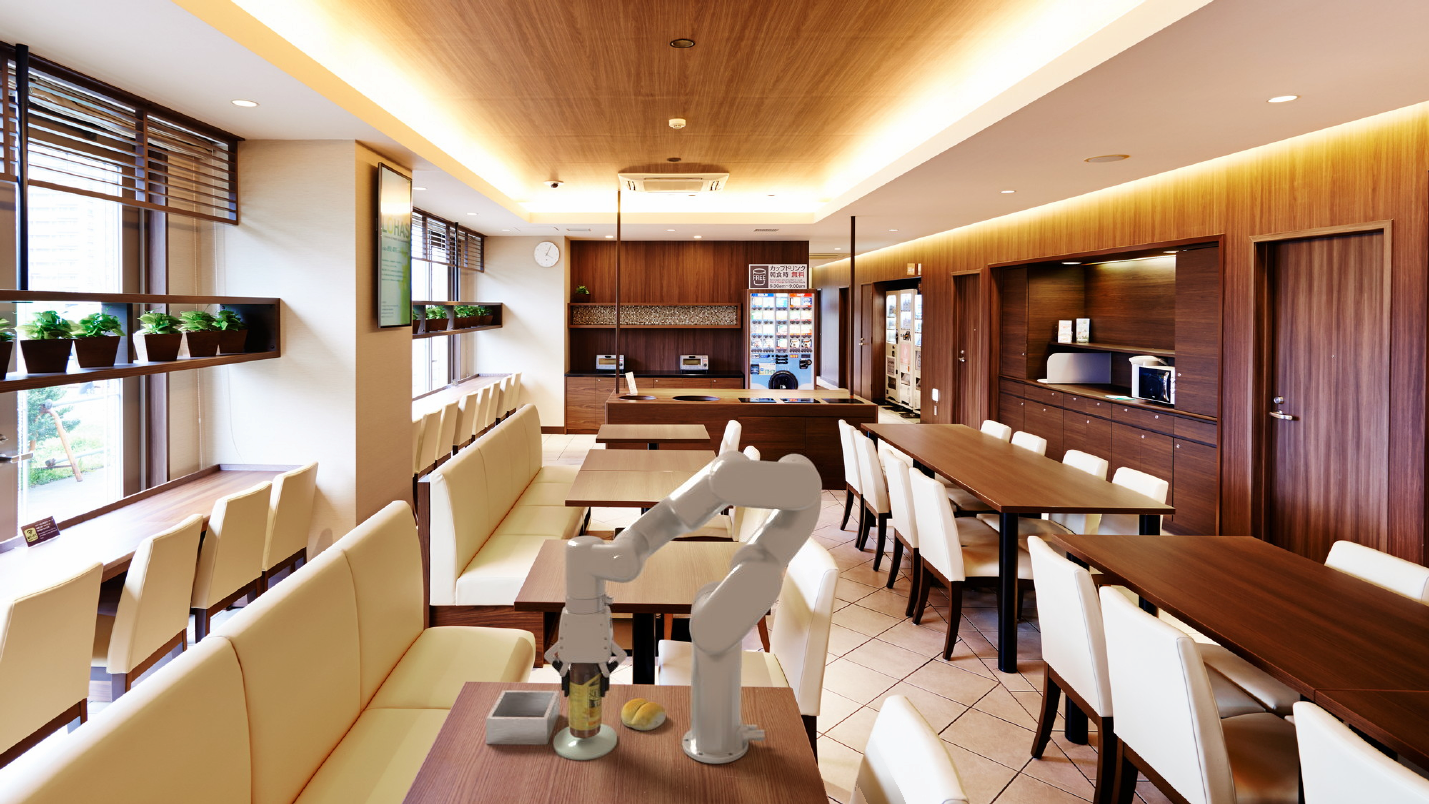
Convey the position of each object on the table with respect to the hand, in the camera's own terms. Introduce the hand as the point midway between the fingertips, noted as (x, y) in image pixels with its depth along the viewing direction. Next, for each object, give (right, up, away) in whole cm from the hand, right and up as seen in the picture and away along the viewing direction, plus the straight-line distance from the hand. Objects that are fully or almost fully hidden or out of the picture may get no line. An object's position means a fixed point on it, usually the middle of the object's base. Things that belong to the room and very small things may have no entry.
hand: (585, 693), depth 141 cm
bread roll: (+10, -10, +10) cm, 17 cm away
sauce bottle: (0, -8, +1) cm, 8 cm away
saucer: (0, -10, +1) cm, 10 cm away
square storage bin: (-13, -9, +6) cm, 17 cm away
